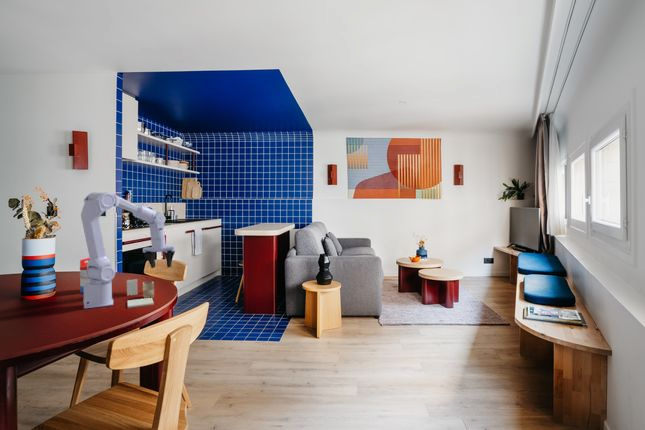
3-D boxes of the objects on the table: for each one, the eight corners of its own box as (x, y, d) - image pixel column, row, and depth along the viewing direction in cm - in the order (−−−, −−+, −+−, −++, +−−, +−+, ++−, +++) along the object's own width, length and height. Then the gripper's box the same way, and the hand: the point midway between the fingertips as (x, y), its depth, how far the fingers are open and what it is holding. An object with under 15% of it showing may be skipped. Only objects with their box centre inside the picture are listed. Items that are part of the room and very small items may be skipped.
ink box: (90, 293, 160) (90, 260, 159) (80, 292, 160) (79, 260, 160) (103, 288, 169) (102, 257, 168) (92, 288, 169) (91, 256, 168)
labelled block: (143, 298, 151) (143, 283, 151) (143, 296, 155) (142, 281, 155) (154, 297, 153) (153, 282, 153) (153, 295, 157) (153, 280, 156)
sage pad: (127, 307, 138) (127, 306, 138) (127, 302, 146) (127, 300, 146) (153, 304, 142) (153, 303, 142) (152, 299, 150) (152, 297, 150)
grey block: (127, 295, 155) (126, 282, 155) (127, 293, 159) (126, 280, 159) (137, 294, 157) (137, 281, 157) (137, 292, 161) (137, 279, 161)
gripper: (177, 235, 167) (180, 264, 169) (147, 236, 168) (150, 265, 170) (170, 238, 160) (173, 268, 162) (138, 240, 161) (142, 269, 163)
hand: (161, 267), depth 165 cm, fingers open, 7 cm apart
